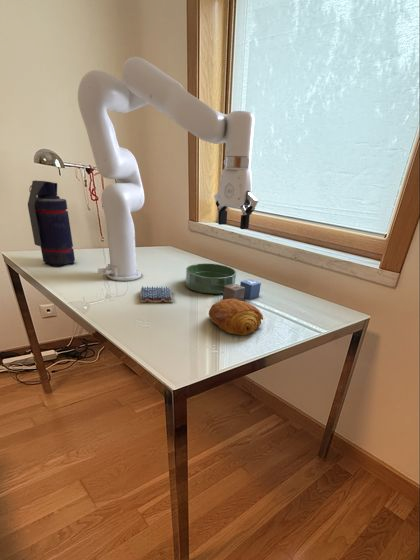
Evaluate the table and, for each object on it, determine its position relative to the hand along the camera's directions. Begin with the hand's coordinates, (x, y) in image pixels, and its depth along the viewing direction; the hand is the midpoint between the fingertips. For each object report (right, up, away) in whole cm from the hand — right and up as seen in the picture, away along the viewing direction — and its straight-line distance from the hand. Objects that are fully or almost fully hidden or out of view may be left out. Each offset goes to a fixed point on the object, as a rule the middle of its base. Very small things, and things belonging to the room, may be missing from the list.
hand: (233, 226), depth 101 cm
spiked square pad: (-25, -22, +4) cm, 34 cm away
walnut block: (0, -23, +6) cm, 24 cm away
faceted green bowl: (-7, -16, +17) cm, 24 cm away
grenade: (-70, -4, +29) cm, 76 cm away
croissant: (0, -32, -10) cm, 34 cm away
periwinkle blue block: (+6, -20, +11) cm, 24 cm away
